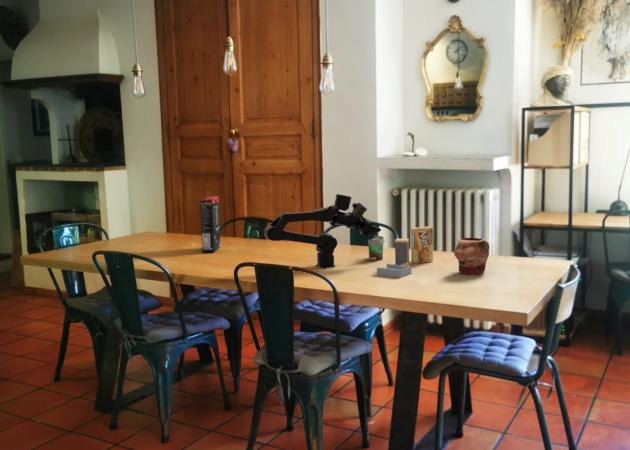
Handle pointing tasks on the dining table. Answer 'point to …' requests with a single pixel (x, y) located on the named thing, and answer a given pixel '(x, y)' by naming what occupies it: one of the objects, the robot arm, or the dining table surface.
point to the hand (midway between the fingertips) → (377, 226)
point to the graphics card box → (210, 224)
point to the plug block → (401, 251)
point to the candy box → (422, 244)
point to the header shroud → (395, 270)
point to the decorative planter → (472, 255)
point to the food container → (376, 248)
